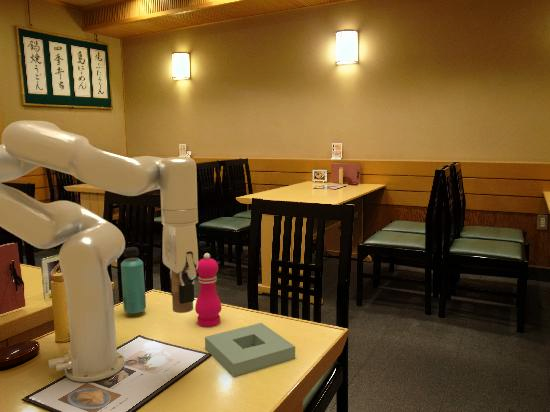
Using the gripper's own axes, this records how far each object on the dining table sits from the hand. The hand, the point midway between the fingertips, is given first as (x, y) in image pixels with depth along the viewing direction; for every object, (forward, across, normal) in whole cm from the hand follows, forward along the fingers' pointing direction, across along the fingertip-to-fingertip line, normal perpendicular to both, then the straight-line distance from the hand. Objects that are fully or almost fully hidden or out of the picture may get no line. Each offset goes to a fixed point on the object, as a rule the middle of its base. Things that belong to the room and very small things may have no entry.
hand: (182, 297), depth 102 cm
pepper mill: (+17, -22, +15) cm, 32 cm away
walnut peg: (+3, 0, 0) cm, 3 cm away
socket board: (+17, 0, +16) cm, 24 cm away
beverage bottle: (+17, -39, -1) cm, 43 cm away
